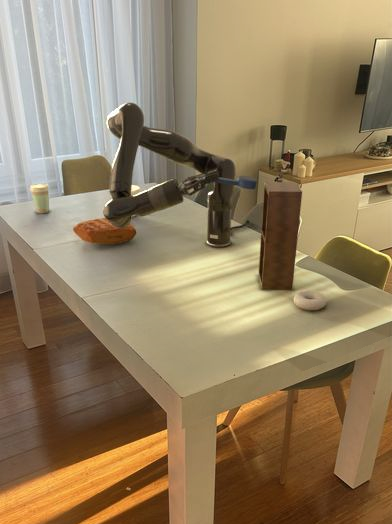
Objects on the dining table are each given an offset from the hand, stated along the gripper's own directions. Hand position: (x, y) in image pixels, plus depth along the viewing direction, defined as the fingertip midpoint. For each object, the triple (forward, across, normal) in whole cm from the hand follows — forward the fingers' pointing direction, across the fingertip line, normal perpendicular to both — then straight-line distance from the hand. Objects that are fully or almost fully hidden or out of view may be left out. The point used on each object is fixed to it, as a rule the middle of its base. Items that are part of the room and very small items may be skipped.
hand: (217, 174), depth 165 cm
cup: (-49, +77, +20) cm, 93 cm away
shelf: (+6, 0, +40) cm, 41 cm away
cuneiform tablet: (-53, +40, +18) cm, 69 cm away
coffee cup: (-87, +82, +5) cm, 119 cm away
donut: (+14, -18, +44) cm, 49 cm away
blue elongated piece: (+2, 0, +4) cm, 4 cm away
